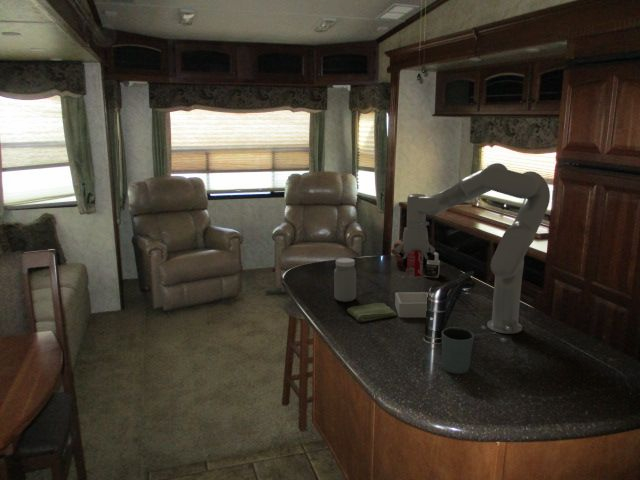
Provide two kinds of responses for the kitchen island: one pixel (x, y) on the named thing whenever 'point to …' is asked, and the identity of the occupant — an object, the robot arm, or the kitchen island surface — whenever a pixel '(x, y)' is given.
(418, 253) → the soda can
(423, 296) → the tote
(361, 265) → the kitchen island surface
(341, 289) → the jar
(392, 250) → the decorative planter
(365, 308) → the washcloth
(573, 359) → the kitchen island surface
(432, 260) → the medicine bottle
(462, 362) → the grey teal cup
